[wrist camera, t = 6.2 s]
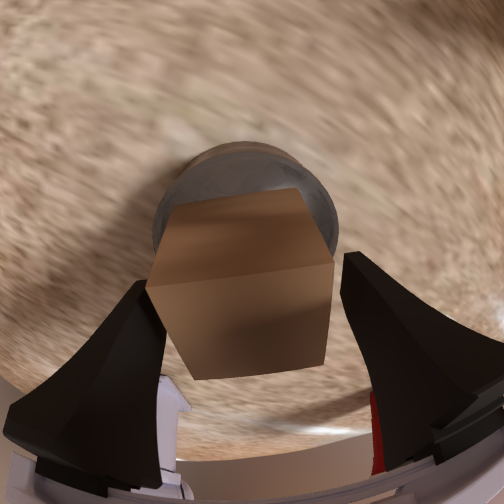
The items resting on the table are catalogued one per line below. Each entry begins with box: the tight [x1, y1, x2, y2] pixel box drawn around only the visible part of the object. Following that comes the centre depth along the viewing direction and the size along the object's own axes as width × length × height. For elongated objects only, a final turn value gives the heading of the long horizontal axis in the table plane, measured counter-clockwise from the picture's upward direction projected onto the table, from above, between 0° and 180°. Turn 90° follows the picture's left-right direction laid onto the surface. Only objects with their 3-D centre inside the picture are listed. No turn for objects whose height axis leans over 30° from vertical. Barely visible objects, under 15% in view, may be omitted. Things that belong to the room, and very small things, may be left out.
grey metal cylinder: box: [153, 141, 339, 258], centre depth 14 cm, size 8×8×3 cm
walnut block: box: [145, 187, 335, 380], centre depth 11 cm, size 5×5×5 cm
